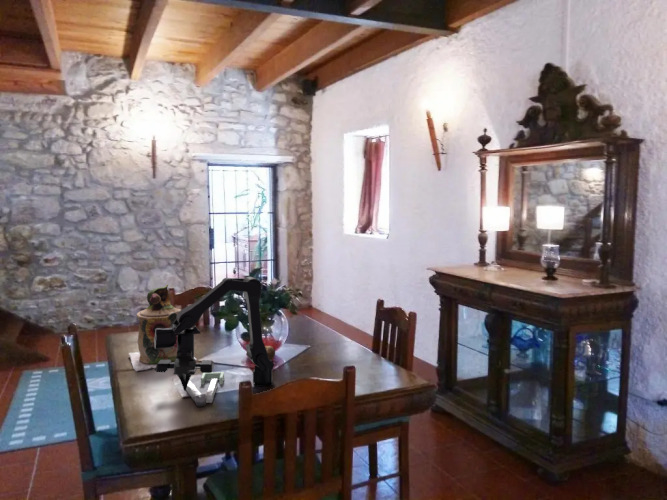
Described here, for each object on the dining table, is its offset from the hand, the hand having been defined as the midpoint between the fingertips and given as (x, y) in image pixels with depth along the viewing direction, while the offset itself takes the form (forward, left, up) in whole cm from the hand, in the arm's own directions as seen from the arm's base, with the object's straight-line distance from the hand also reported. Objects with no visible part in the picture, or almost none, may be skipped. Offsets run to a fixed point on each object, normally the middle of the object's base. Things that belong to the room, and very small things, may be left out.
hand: (185, 390), depth 185 cm
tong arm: (-4, +3, -1) cm, 5 cm away
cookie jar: (+16, -40, -2) cm, 44 cm away
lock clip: (-8, -11, -1) cm, 14 cm away
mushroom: (-27, -37, -2) cm, 46 cm away
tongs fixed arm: (-9, +1, -2) cm, 9 cm away
